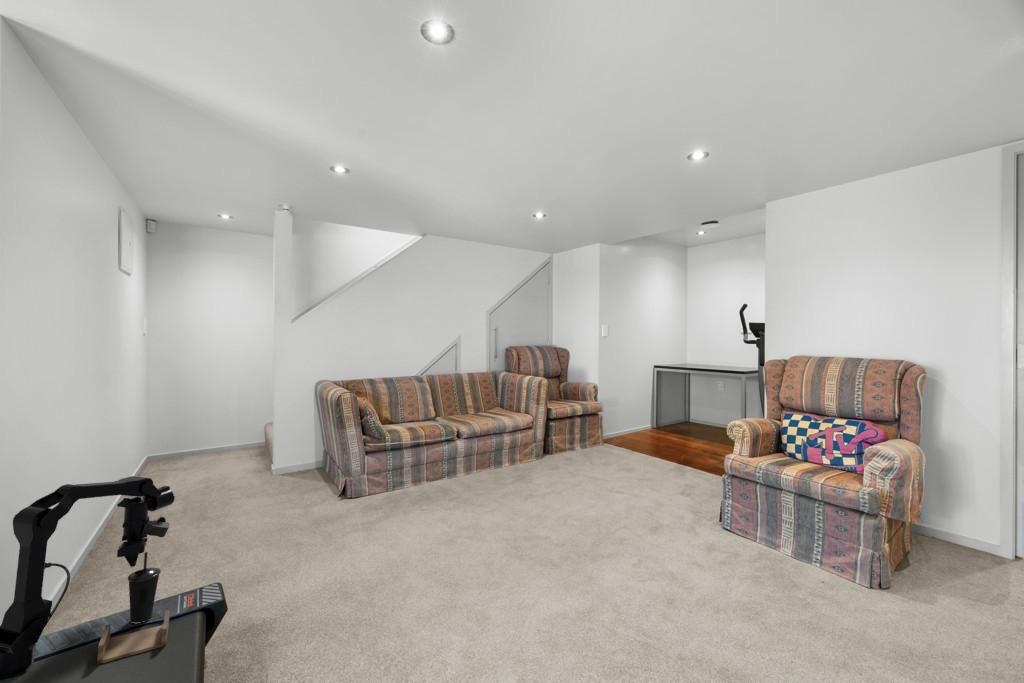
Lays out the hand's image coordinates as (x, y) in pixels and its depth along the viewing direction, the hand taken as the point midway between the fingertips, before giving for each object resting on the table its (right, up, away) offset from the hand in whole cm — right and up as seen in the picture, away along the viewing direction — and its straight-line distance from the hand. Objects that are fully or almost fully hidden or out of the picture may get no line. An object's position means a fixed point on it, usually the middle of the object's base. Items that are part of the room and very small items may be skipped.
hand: (133, 566), depth 136 cm
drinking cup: (+8, -13, -6) cm, 16 cm away
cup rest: (+15, -13, -17) cm, 26 cm away
